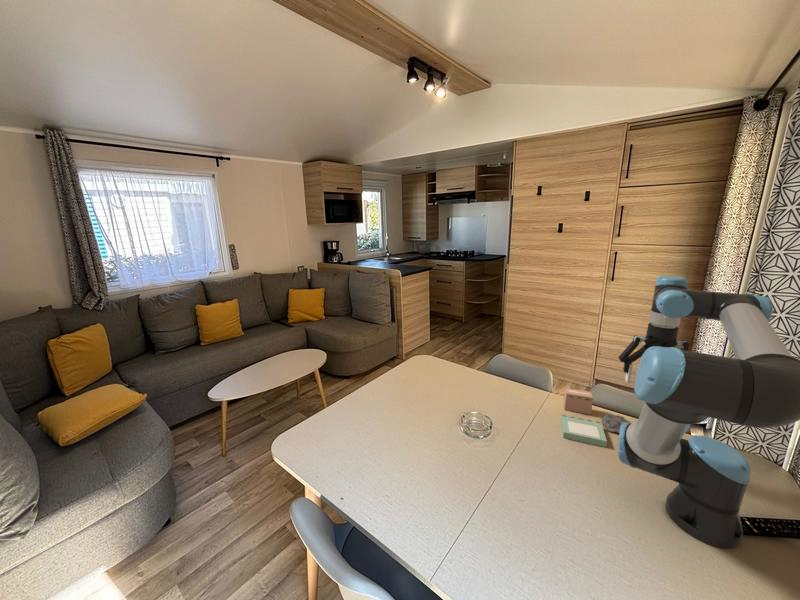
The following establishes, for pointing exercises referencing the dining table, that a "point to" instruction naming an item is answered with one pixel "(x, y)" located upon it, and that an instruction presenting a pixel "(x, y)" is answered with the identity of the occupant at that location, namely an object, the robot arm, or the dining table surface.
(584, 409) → the pinkish brown box
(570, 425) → the green picture frame
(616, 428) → the rock
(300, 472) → the dining table surface
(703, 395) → the robot arm
